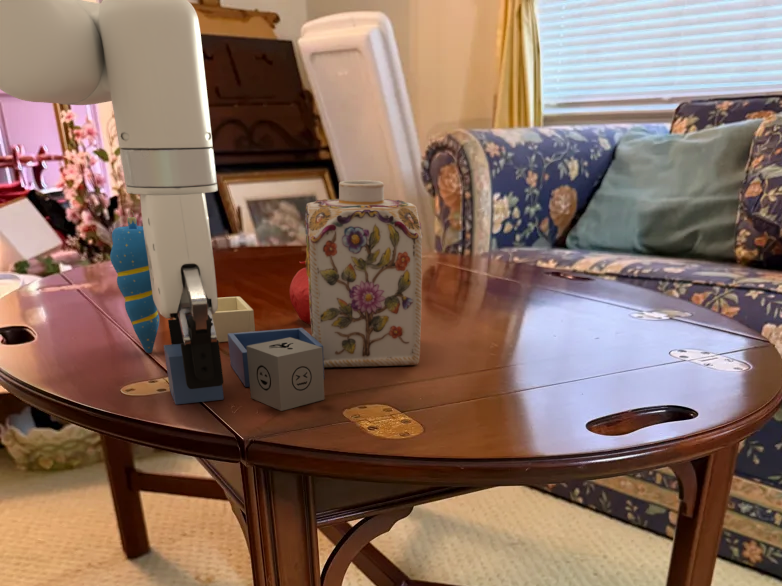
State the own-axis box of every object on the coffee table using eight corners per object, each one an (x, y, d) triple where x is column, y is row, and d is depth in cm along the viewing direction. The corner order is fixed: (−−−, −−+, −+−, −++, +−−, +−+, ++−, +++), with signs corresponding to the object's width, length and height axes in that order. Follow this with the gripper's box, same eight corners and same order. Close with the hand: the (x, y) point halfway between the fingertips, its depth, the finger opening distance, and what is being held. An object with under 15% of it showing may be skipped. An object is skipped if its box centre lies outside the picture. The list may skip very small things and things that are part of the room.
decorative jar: (406, 340, 93) (409, 177, 84) (422, 366, 83) (426, 185, 74) (308, 342, 92) (300, 177, 83) (312, 369, 82) (303, 185, 73)
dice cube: (293, 387, 76) (290, 337, 74) (324, 399, 73) (322, 347, 70) (250, 397, 73) (246, 345, 70) (281, 411, 70) (277, 356, 67)
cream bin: (182, 345, 90) (178, 315, 88) (174, 328, 97) (170, 300, 95) (255, 339, 93) (253, 309, 91) (242, 323, 100) (239, 296, 98)
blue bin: (245, 387, 76) (242, 352, 74) (230, 365, 82) (227, 333, 81) (324, 379, 78) (323, 345, 77) (304, 359, 85) (302, 327, 83)
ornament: (147, 345, 90) (126, 207, 82) (183, 350, 88) (165, 209, 81) (116, 356, 85) (92, 211, 78) (154, 361, 84) (132, 213, 76)
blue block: (175, 404, 71) (168, 357, 69) (169, 390, 75) (163, 344, 72) (224, 399, 72) (219, 352, 70) (216, 386, 76) (211, 341, 74)
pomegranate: (370, 329, 98) (369, 252, 93) (291, 331, 97) (287, 253, 92) (362, 312, 106) (361, 241, 102) (290, 314, 105) (286, 242, 101)
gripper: (117, 169, 70) (148, 354, 78) (131, 180, 56) (167, 404, 64) (200, 167, 72) (222, 347, 81) (233, 177, 58) (255, 393, 67)
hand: (197, 372), depth 72 cm, fingers open, 9 cm apart
